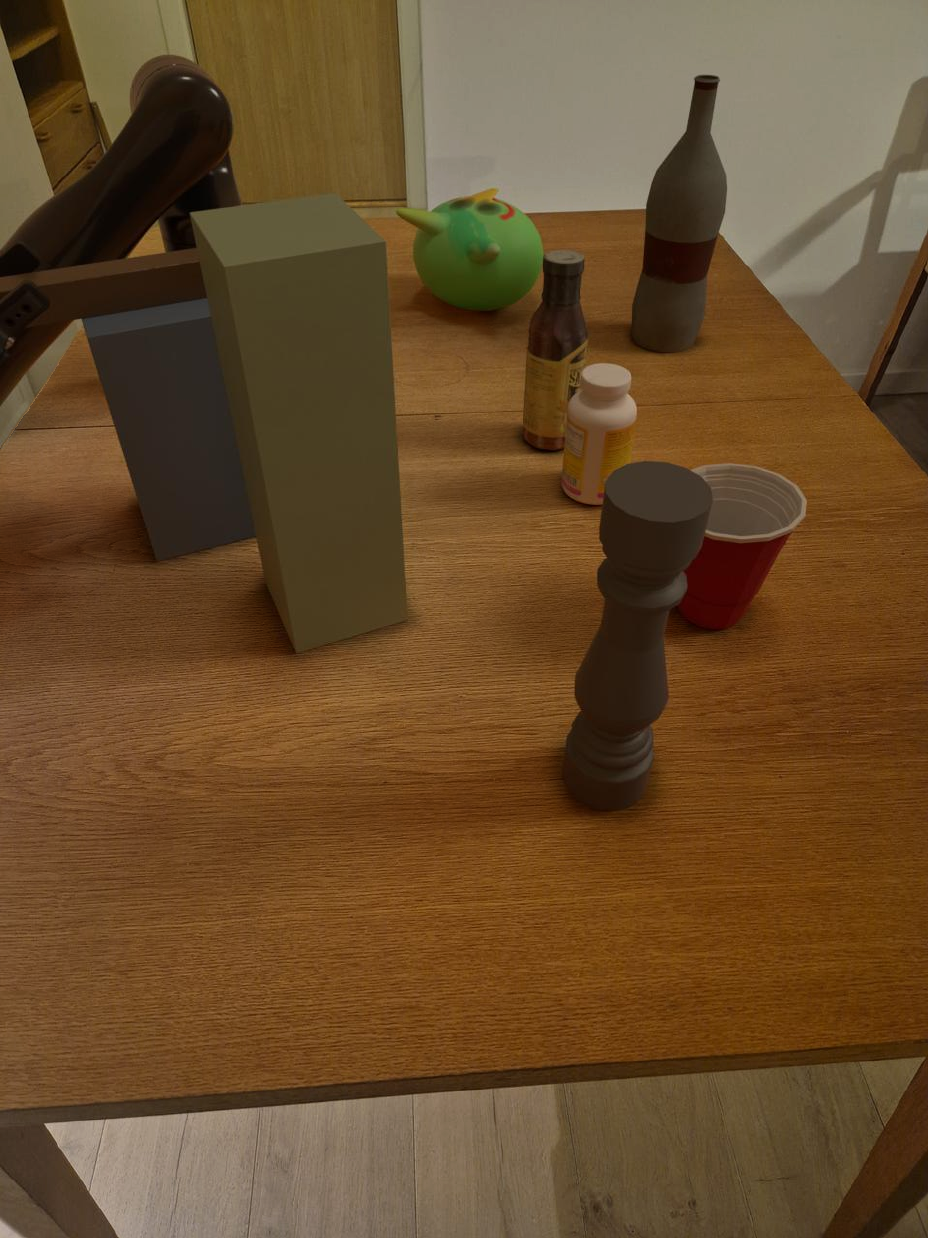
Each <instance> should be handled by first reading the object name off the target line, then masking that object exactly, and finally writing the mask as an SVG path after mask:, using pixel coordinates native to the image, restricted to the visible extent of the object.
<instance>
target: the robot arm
mask: <svg viewBox="0 0 928 1238" xmlns="http://www.w3.org/2000/svg"><path fill="white" fill-rule="evenodd" d="M129 107H130V116H129V117H128V120H127V121H126V123H125V124H124V126H123V127H122V129H121V130H120V132H119V133H118V135H117V136H116V138H115V139H114V140H113V142H112V143H111V145H109V147H108V148H107V150H106V151H105V153H104V154H103V155H102V156H101V157H100V158H99V160H98V161H97V162H96V163H95V164H94V165H93V166H92V167H91V168H90V169H89V170H88V171H86V173H84V174H83V175H82V176H81V177H78V179H76V180H75V181H73V182H72V183H71V184H69V185H68V186H66V187H64V188H63V189H62V190H60V191H58V192H57V193H56V194H54V195H53V196H51V197H50V198H49V199H47V200H46V201H44V202H43V203H42V204H41V205H40V206H38V207H37V208H36V209H35V210H34V211H32V212H31V213H30V215H28V216H27V217H26V219H24V221H23V222H22V223H21V224H20V225H19V227H17V229H16V231H14V232H13V234H12V235H11V236H10V238H9V239H8V240H7V241H6V242H5V243H4V245H3V246H2V247H1V248H0V277H6V276H13V275H19V274H26V273H33V272H39V271H46V270H53V269H59V268H66V267H73V266H79V265H86V264H93V263H99V262H106V261H113V260H119V259H126V258H129V256H130V255H132V253H133V252H134V250H135V249H136V248H137V246H138V245H139V244H140V243H141V241H142V240H143V238H145V236H146V234H147V233H148V232H149V231H150V229H151V228H152V227H153V226H154V225H155V224H156V222H158V226H159V227H158V228H159V231H160V235H161V240H162V244H163V247H164V253H166V252H173V251H179V250H186V249H193V248H197V247H196V242H195V237H194V232H193V227H192V222H191V217H190V212H197V211H205V210H212V209H219V208H227V207H234V206H241V205H244V204H243V201H242V198H241V195H240V192H239V189H238V185H237V181H236V176H235V172H234V168H233V162H232V157H231V151H230V147H231V143H232V140H233V137H234V129H235V128H234V126H235V122H234V114H233V110H232V107H231V105H230V101H229V100H228V97H227V96H226V94H225V93H224V91H223V90H222V89H221V87H220V86H219V85H218V84H217V83H216V82H215V80H214V79H213V78H212V77H211V75H210V74H209V73H208V72H207V71H206V70H205V69H203V67H201V66H200V65H199V64H198V63H196V62H195V61H193V60H191V59H190V58H187V57H184V56H181V55H176V54H161V55H157V56H154V57H152V58H150V59H148V60H147V61H145V62H144V63H143V64H142V65H141V66H140V67H139V68H138V70H136V73H135V75H134V76H133V79H132V82H131V84H130V90H129ZM49 306H50V301H49V298H48V296H47V295H46V294H45V293H44V292H43V291H42V290H41V289H40V288H39V287H38V286H37V285H35V284H34V283H33V282H32V281H30V280H24V281H22V282H21V283H20V284H19V285H17V286H16V287H15V288H14V289H13V290H12V291H10V292H9V293H8V294H7V295H6V296H5V297H3V298H2V299H1V300H0V407H2V405H3V404H4V402H5V401H6V400H7V399H8V397H9V396H10V395H11V393H12V392H13V391H14V389H16V387H17V386H18V384H19V383H20V382H21V380H22V379H23V378H24V377H25V375H26V374H27V373H28V372H29V370H30V369H31V368H32V367H33V365H35V363H36V362H37V361H38V360H39V358H41V356H42V355H43V354H44V353H45V352H46V351H47V350H48V349H49V348H50V347H51V346H52V345H53V343H54V342H56V340H58V338H59V337H60V336H61V335H62V334H63V333H64V332H65V331H66V330H67V329H68V328H69V327H70V326H71V325H72V324H73V323H74V322H75V320H72V321H66V322H60V323H54V324H48V325H42V326H36V327H30V328H25V327H26V326H27V325H29V324H30V323H31V322H32V321H33V320H35V319H36V318H37V317H38V316H39V315H40V314H42V313H43V312H44V311H45V310H46V309H48V308H49Z"/></svg>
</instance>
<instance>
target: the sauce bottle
mask: <svg viewBox="0 0 928 1238" xmlns="http://www.w3.org/2000/svg"><path fill="white" fill-rule="evenodd" d="M585 258H586V257H585V255H584V254H582V253H581V252H579V251H576V250H573V249H563V248H561V249H553V250H549V251H547V252H546V253H543V263H542V272H543V281H542V282H543V283H542V284H543V285H542V292H541V300H542V301H541V302H540V304H539V306H538V307H537V308H536V310H535V311H534V312H533V315H532V316H531V318H530V320H529V326H528V343H527V346H526V358H525V373H524V376H525V377H524V393H523V412H522V414H523V415H522V424H523V428H522V433H523V438H524V439H525V441H526V442H527V443H528V444H529V445H530V446H532V447H534V448H536V449H541V450H547V451H558V450H562V449H564V444H565V433H566V422H567V411H568V404H569V402H570V400H571V398H572V397H573V396H574V395H575V394H576V393H577V392H579V391H580V390H581V387H580V380H581V373H582V371H583V369H584V368H586V366H587V365H586V363H587V356H588V355H587V353H588V345H589V332H588V329H587V325H586V322H585V317H584V313H583V308H582V305H581V287H582V277H583V274H584V271H585Z"/></svg>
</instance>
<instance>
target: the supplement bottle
mask: <svg viewBox="0 0 928 1238" xmlns="http://www.w3.org/2000/svg"><path fill="white" fill-rule="evenodd" d="M631 384H632V375H631V372H630V371H629V370H628V369H627V368H625V367H623V366H622V365H618V364H614V363H607V362H601V363H599V362H598V363H594V364H590V365H588V366H587V365H586V366H585V368H584V369H583V371H582V373H581V380H580V387H581V390H580V391H579V392H577V393H576V394H575V395H574V396H573V397H572V398H571V400H570V402H569V404H568V411H567V422H566V433H565V444H564V448H563V457H562V467H561V468H562V470H561V487H562V489H563V491H564V493H565V495H567V496H568V497H569V498H571V499H572V500H574V501H576V502H579V503H582V504H587V505H593V506H594V505H595V506H597V505H598V506H602V504H603V497H604V490H605V482H606V480H607V479H608V477H609V476H610V475H611V473H612V472H613V471H614V470H616V469H618V468H620V467H622V466H624V465H626V464H630V463H631V457H632V450H633V444H634V443H633V442H634V436H635V429H636V421H637V413H638V407H637V404H636V401H635V400H634V398H633V397H632V396H631V395H629V394H628V393H629V391H630V390H631Z"/></svg>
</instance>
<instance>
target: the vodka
mask: <svg viewBox="0 0 928 1238" xmlns="http://www.w3.org/2000/svg"><path fill="white" fill-rule="evenodd" d="M693 81H694V85H693V90H692V94H691V101H690V106H689V111H688V118H687V123H686V129H685V132H684V133H683V134H682V136H681V137H680V139H679V140H678V141H677V142H676V144H675V145H674V146H673V148H671V150H670V152H669V153H668V154H667V155H666V157H665V158H664V159H663V161H662V163H661V164H659V166H658V167H657V168H656V171H655V172H654V176H653V178H652V180H651V184H650V188H649V192H648V195H647V199H646V203H645V229H644V243H643V254H642V255H643V256H642V268H641V272H640V275H639V278H638V282H637V286H636V289H635V293H634V295H633V296H634V297H633V300H632V305H631V332H632V333H631V334H632V339H633V341H634V342H635V344H636V345H638V346H639V347H641V348H643V349H646V350H648V351H653V352H657V353H669V354H670V353H679V352H683V351H686V350H688V349H690V348H691V347H693V345H694V343H695V341H696V339H697V337H698V335H699V334H700V332H701V328H702V325H703V321H704V319H705V315H706V304H707V294H708V293H707V292H708V291H707V290H708V274H709V270H710V266H711V263H712V259H713V255H714V251H715V248H716V244H717V240H718V237H719V234H720V229H721V227H722V223H723V221H724V217H725V215H726V207H727V197H728V182H727V179H728V178H727V174H726V171H725V168H724V165H723V163H722V160H721V157H720V155H719V154H720V153H719V151H718V149H717V146H716V144H715V141H714V139H713V136H712V133H711V132H712V124H713V119H714V112H715V107H716V100H717V93H718V87H719V83H720V82H721V79H720V77H719V76H717V75H713V74H697V75H696V76H695V77H694V78H693Z"/></svg>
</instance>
